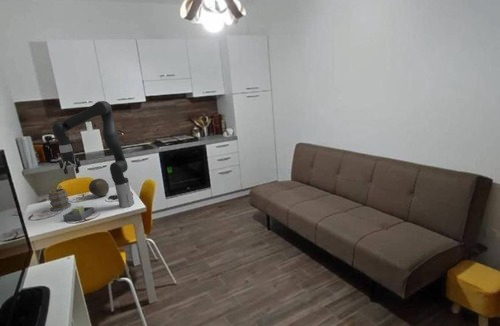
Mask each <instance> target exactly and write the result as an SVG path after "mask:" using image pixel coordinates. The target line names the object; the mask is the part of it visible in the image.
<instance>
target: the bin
mask: <svg viewBox="0 0 500 326" xmlns="http://www.w3.org/2000/svg"><path fill="white" fill-rule="evenodd" d="M84 211H85V212H84V213H82V214H80V215H73V212H72V210H70V211H68V212H67V213H65V214H64V215H62V216H63V221H64V222H72V221H73V222H75V221H77V222H78V221H79V222H80V221H83V220H85V219H87V218H89V217H90V216H92V215H93V214H95V209H94V206H90V207H89V206H88V207H84Z"/></svg>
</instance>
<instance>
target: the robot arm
mask: <svg viewBox="0 0 500 326" xmlns="http://www.w3.org/2000/svg"><path fill="white" fill-rule="evenodd" d="M98 116H99V117H101V120H102V136H103V139H104V143H105V145H106V147H107V149H109V151H110V152H111V153H112V155H113V158H114V162H112V163H110V166H109V171H110V175H111V179H112V181H113V183H114V186H115V191H116V195H117V196H116V197H117V201H118V205H119V208H121V209H124V208H125V209H126V208H130V207H132V206H133V205H134V204H135V200H134V196H133V191H131V187H130V186H131V185H130V183H129V178H128V177H127V176H126V177H125V176H124V175H125V174H124V173H126V172H127V171H128V168H129V167H128V162H127V160H126V158H125V155H124V151H123V148H122V145H121V142H120V137H119V134H118V133H119V132H118V131H117V128H116V124H115V120H114V116H113V109H112V106H111V104H110V102H108V101H105V100H99V101H97V102H95V103H94V104H92V105H91V106H90V107H88V108H86V109H85V110H83V111H81V112H78V113H76V114H74V115H71V116H69V117H67V118H66V119H65V120H63V121H60V122H55V123H53V125H52V131H53V134H54V135H55V138H56V139H57V143H58V147H59V152H60V157H61V159H59V160H58V164H59V169H62V170H63V173H64V174H65V175H68V174H69V170H68V166H72V167H73V168H74V170H75V173H76V175H77V174H79V173H80V167H81V163H80V158H75V154H74V150H73V147H72V144H71V140H70V139H71V138H70V137H69V136H68V135H66V132H68V131H70V130H71V129H73V128H75V127H78V126H80V125H82V124H83V123H85V122H87V121H89V120H90V119H92V118H95V117H98Z"/></svg>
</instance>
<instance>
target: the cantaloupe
mask: <svg viewBox="0 0 500 326" xmlns="http://www.w3.org/2000/svg"><path fill="white" fill-rule="evenodd" d="M88 190H89V192H90V194H92V195H93V196H96V197H104V196H106V195H107V194H108V193H109V192H110V187H109V183H108V182H107V180H105V179H103V178H95V179H92V180H91V181H90V182H89V184H88Z"/></svg>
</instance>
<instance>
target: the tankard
mask: <svg viewBox="0 0 500 326" xmlns="http://www.w3.org/2000/svg"><path fill="white" fill-rule="evenodd" d="M47 197H48V200H50V202H49V205H50V206H51V208H50V211H51V212H60V211H64V210H66V209H68V208H70V207H71V206H72V203H71V202H69V201H70V199H69V197H68V192H67V191H66V188H63V186H62V185H58V188H55V189H52V190H50V191H49V192H48V196H47Z"/></svg>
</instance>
